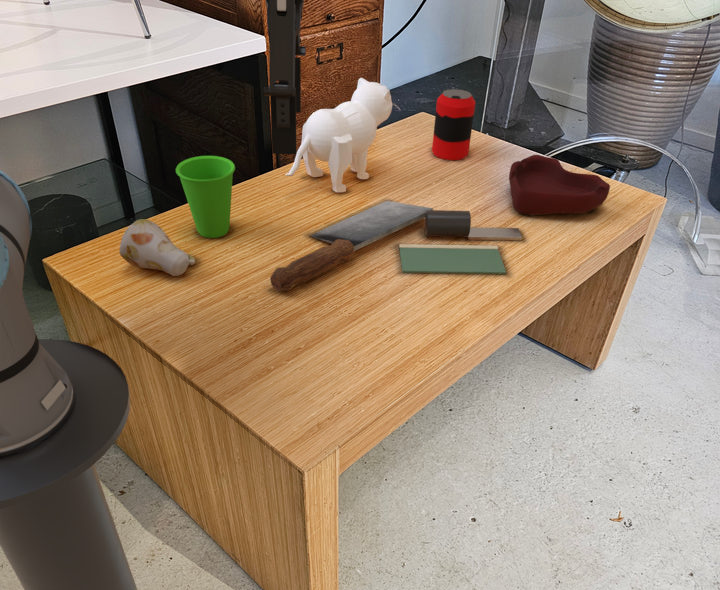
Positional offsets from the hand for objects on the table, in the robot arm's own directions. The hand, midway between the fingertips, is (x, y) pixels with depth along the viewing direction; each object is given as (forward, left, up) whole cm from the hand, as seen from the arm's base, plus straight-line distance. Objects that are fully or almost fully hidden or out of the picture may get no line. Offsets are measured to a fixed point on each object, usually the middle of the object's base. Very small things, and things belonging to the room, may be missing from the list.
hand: (287, 131), depth 80 cm
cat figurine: (-15, +36, -24) cm, 46 cm away
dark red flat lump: (+21, +49, -24) cm, 59 cm away
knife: (+15, +31, -24) cm, 42 cm away
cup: (-22, +8, -24) cm, 34 cm away
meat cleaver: (-2, +16, -24) cm, 29 cm away
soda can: (-3, +60, -24) cm, 65 cm away
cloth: (+15, +22, -24) cm, 36 cm away
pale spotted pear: (-21, -5, -24) cm, 32 cm away
